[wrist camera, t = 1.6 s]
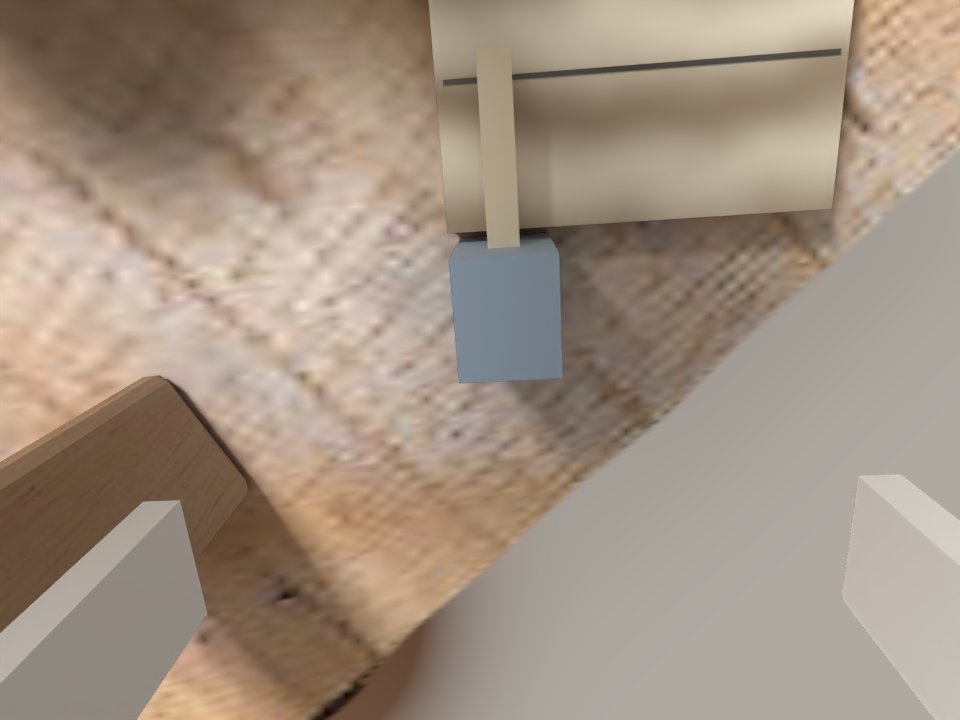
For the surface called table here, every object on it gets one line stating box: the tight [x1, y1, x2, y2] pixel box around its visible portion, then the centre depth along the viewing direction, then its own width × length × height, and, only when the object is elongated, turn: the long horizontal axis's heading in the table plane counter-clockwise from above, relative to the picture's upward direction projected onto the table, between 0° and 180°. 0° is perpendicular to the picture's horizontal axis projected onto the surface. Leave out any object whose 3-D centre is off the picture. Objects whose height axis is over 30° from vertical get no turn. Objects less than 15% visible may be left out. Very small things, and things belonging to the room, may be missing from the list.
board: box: [428, 0, 854, 233], centre depth 31 cm, size 12×20×3 cm, turn 94°
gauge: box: [449, 46, 563, 383], centre depth 31 cm, size 15×5×8 cm, turn 4°
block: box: [0, 376, 248, 633], centre depth 31 cm, size 10×10×20 cm
